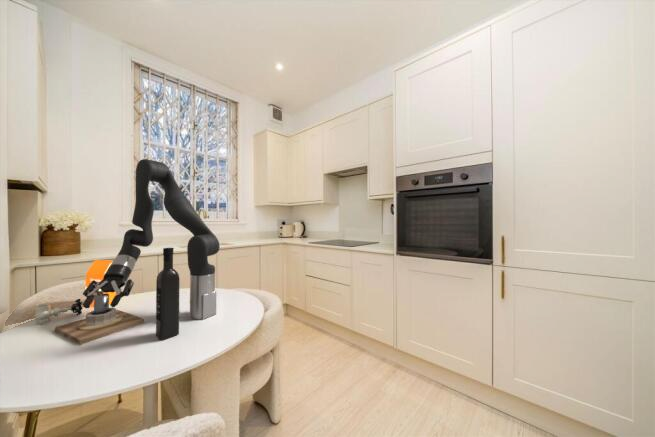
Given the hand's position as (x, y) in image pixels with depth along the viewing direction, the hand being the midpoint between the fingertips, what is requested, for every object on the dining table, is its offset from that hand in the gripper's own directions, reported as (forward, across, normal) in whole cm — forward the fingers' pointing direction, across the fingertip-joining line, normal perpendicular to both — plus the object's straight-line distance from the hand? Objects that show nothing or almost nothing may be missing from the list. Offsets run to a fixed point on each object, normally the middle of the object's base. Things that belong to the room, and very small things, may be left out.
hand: (99, 306), depth 87 cm
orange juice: (-14, -18, +26) cm, 34 cm away
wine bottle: (+12, +27, -1) cm, 30 cm away
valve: (-2, -21, +13) cm, 25 cm away
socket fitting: (+5, 0, +6) cm, 8 cm away
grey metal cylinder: (+3, 0, +5) cm, 6 cm away
